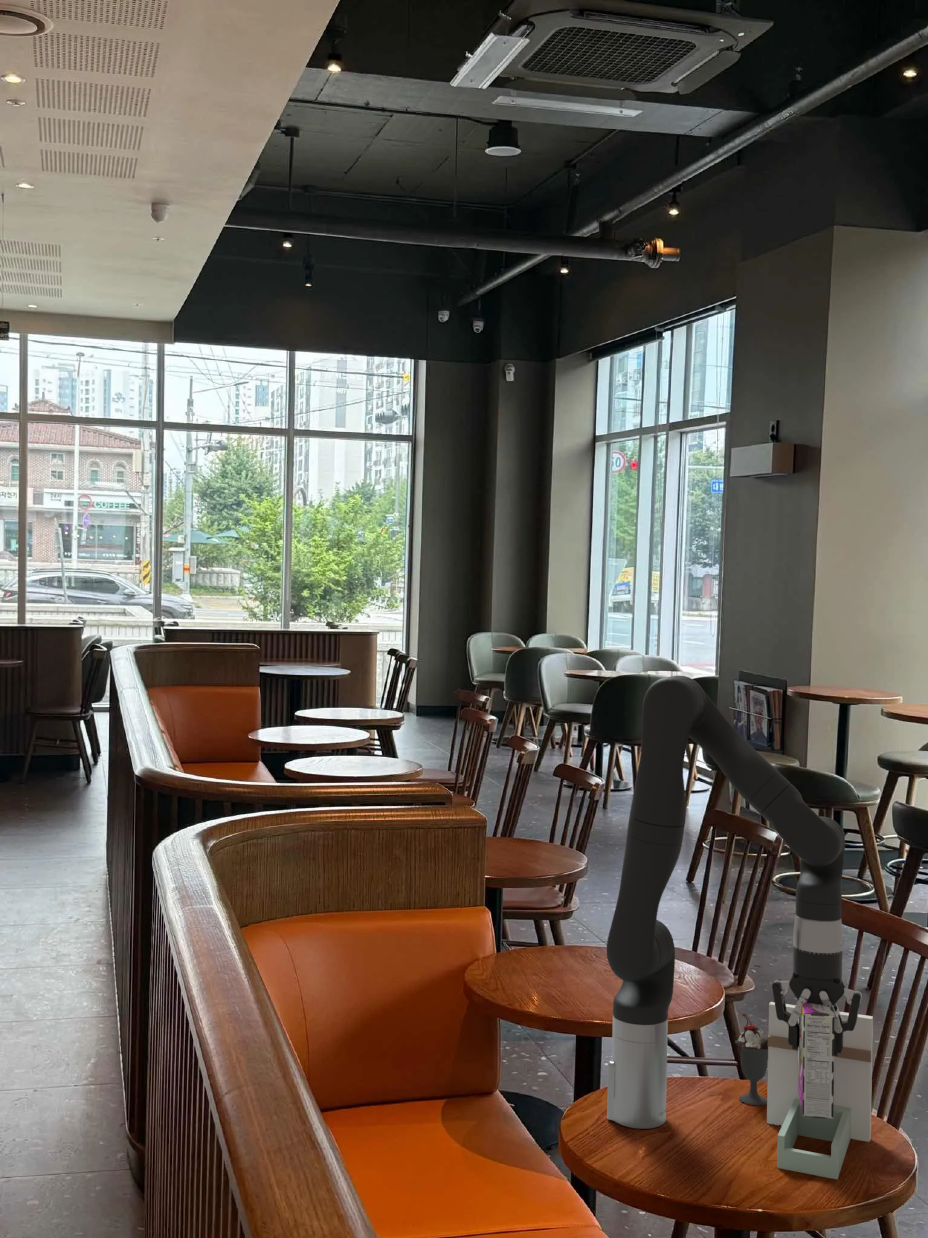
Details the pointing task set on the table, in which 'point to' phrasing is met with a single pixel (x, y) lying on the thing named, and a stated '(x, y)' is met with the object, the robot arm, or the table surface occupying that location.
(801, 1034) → the candy bar box
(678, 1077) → the table surface
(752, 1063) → the sundae
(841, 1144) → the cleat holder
